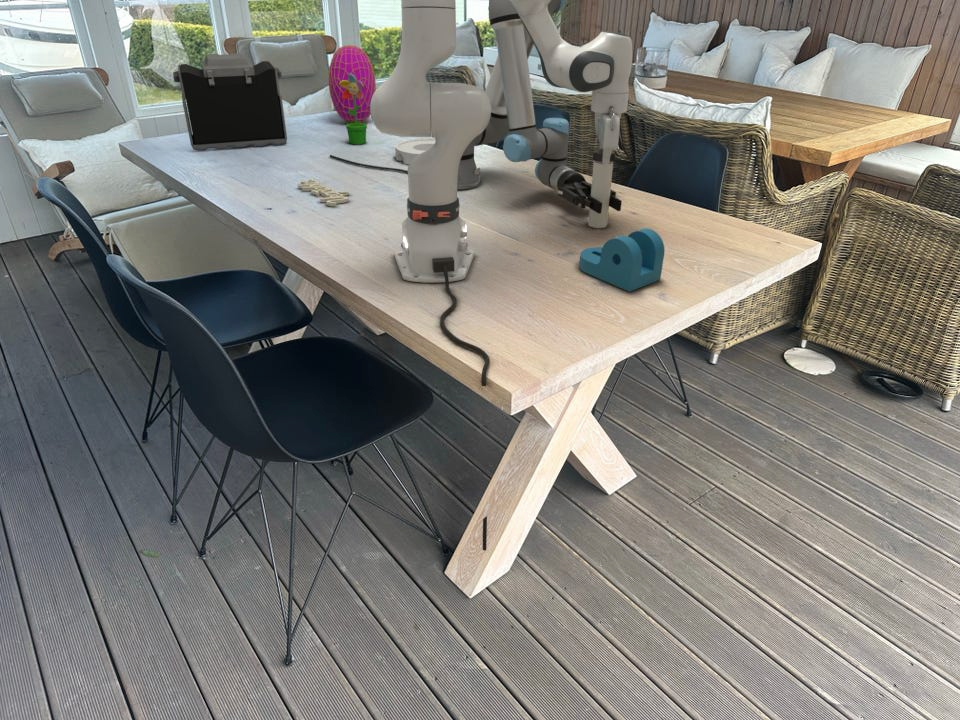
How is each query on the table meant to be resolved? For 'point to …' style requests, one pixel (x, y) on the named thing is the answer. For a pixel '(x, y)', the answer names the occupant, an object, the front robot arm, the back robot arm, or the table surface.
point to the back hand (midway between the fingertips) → (610, 207)
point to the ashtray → (412, 149)
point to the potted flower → (354, 129)
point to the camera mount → (626, 260)
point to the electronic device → (232, 102)
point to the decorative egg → (340, 66)
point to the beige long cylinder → (600, 193)
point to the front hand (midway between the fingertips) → (604, 160)
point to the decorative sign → (324, 192)
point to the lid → (599, 153)
